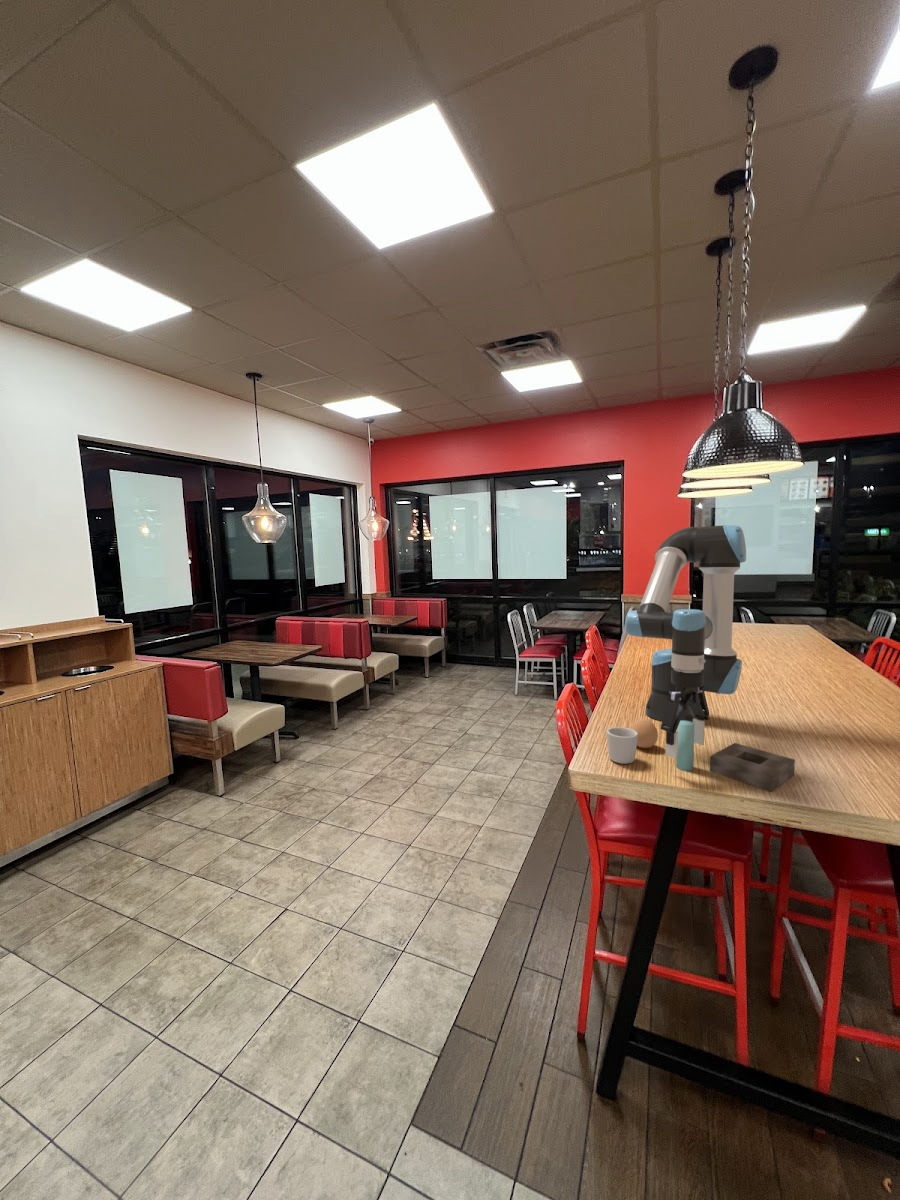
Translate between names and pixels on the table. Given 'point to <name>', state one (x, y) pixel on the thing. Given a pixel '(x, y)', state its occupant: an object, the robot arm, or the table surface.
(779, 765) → the socket
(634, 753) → the cup
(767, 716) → the table surface
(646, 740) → the egg
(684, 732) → the peg
